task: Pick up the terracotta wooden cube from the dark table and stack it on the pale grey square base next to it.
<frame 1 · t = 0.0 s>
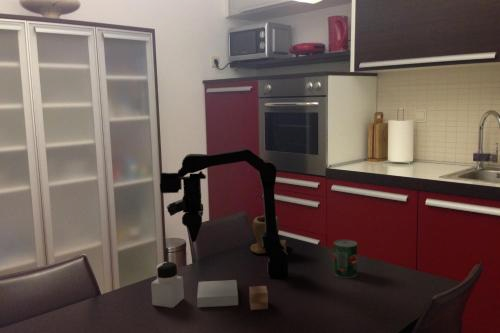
hand: (194, 237, 154), 15 cm above the table, tool pointing down, fingers open, 9 cm apart
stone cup: (270, 252, 183), on the table
grey base: (217, 297, 141), on the table
medicine bottle: (168, 302, 139), on the table
terracotta cube: (258, 305, 135), on the table
canned tomato: (345, 274, 158), on the table
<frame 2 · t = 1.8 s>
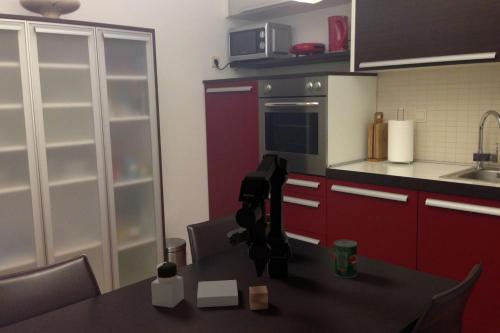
hand: (257, 270, 133), 11 cm above the table, tool pointing down, fingers open, 9 cm apart
nothing on the table moved.
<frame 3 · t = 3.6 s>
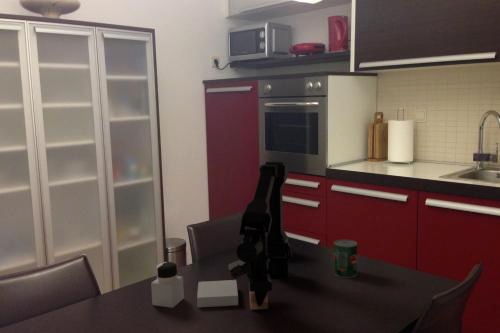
hand: (258, 302, 134), 1 cm above the table, tool pointing down, fingers closed on terracotta cube, 5 cm apart
terracotta cube: (258, 305, 135), on the table, touching gripper
everything else where it was.
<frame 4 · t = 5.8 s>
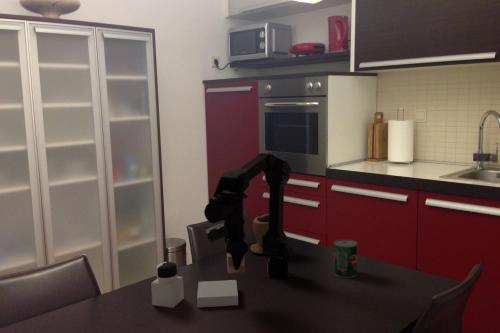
hand: (235, 266, 136), 11 cm above the table, tool pointing down, fingers closed on terracotta cube, 5 cm apart
terracotta cube: (236, 269, 136), point 10 cm above the table, touching gripper
everything else where it was.
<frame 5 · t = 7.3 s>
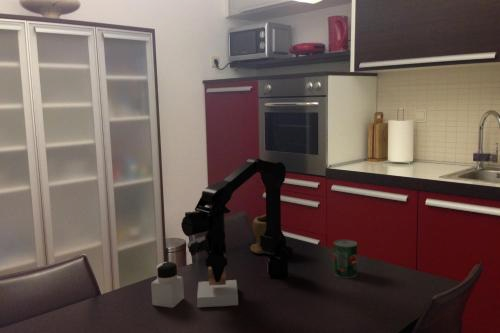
hand: (217, 278, 140), 6 cm above the table, tool pointing down, fingers closed on terracotta cube, 5 cm apart
terracotta cube: (217, 281, 140), point 5 cm above the table, touching gripper
everything else where it was.
when the fingers open (5 cm above the table, at t = 8.3 s): terracotta cube drops 1 cm, resting on grey base.
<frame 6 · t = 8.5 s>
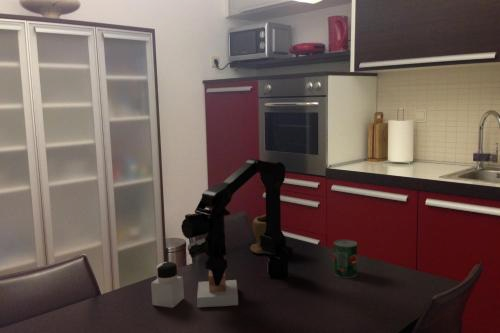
hand: (217, 280, 140), 5 cm above the table, tool pointing down, fingers open, 7 cm apart
terracotta cube: (217, 288, 140), point 3 cm above the table, touching grey base
everything else where it was.
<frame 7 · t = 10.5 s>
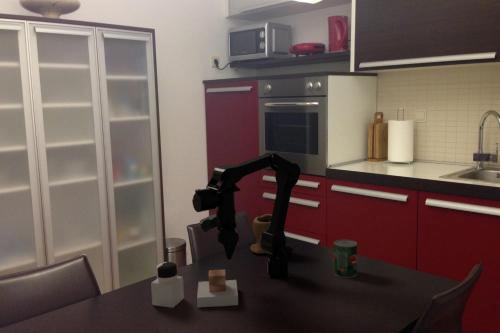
hand: (228, 254, 145), 12 cm above the table, tool pointing down, fingers open, 9 cm apart
nothing on the table moved.
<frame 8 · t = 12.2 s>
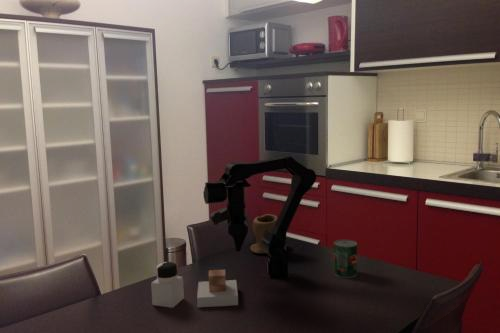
hand: (237, 246, 151), 12 cm above the table, tool pointing down, fingers open, 9 cm apart
nothing on the table moved.
at the end: terracotta cube inside the target area on the grey base (0.0 cm from its centre), point 3.0 cm above the grey base's base; terracotta cube tilted 0°; the gripper is holding nothing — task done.
